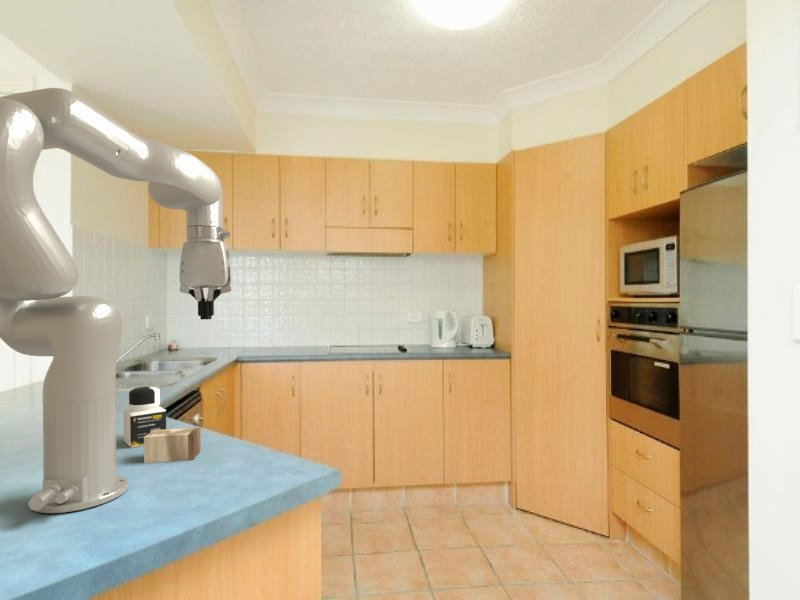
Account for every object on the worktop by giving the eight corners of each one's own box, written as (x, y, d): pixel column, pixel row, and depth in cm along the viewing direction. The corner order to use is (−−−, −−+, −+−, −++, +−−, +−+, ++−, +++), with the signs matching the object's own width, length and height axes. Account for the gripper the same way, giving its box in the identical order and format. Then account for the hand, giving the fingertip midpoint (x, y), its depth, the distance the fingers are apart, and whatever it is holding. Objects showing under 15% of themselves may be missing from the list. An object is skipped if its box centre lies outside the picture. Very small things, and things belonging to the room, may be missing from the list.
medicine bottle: (130, 448, 98) (129, 392, 99) (123, 441, 104) (122, 387, 104) (166, 441, 103) (166, 387, 103) (158, 435, 108) (157, 383, 109)
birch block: (193, 434, 90) (143, 437, 89) (193, 460, 90) (144, 463, 89) (200, 427, 95) (153, 430, 94) (200, 452, 95) (153, 454, 94)
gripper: (243, 239, 108) (244, 318, 108) (175, 239, 106) (175, 319, 106) (236, 234, 101) (237, 319, 100) (163, 234, 98) (164, 320, 98)
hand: (206, 319), depth 103 cm, fingers closed
